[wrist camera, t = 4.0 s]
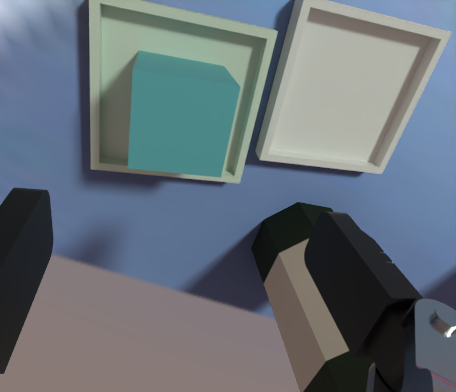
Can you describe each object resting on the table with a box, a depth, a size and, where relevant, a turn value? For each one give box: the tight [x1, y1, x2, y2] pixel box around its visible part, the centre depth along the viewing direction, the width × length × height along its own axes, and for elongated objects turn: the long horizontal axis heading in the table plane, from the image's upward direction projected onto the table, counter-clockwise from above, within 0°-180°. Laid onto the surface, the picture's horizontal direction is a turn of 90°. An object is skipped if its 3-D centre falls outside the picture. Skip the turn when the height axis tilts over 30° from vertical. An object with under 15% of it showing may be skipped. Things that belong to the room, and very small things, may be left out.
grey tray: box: [255, 0, 452, 174], centre depth 22 cm, size 10×10×1 cm
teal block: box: [128, 50, 241, 177], centre depth 19 cm, size 5×5×5 cm
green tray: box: [89, 0, 278, 183], centre depth 20 cm, size 10×10×1 cm
